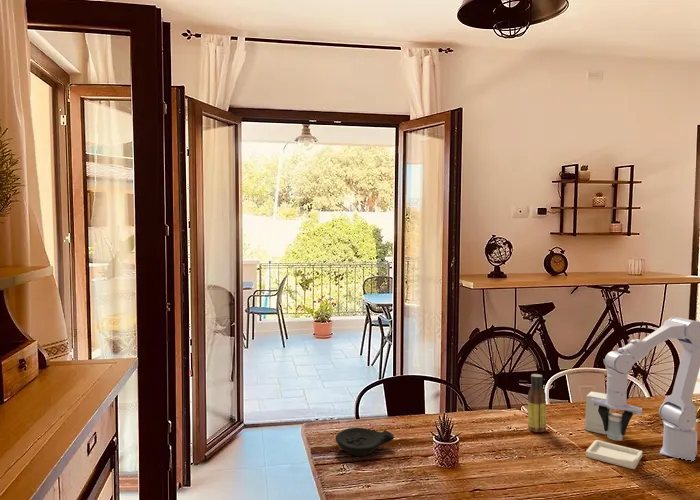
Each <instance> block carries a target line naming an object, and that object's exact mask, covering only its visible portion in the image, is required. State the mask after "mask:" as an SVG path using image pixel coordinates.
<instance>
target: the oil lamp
mask: <svg viewBox="0 0 700 500" xmlns="http://www.w3.org/2000/svg"><path fill="white" fill-rule="evenodd" d="M394 438H395V436H394V434H393V433H392V432H390V431H388V430H386V429H385V430H383V431H376V430H375V429H372V430H371V429H368V428H365V427H364V428H363V427H350V428H346V429H343V430H341V431H340V432H338V433H337V434H336V436H335V441H336V444H337V445H338V446H339V447H340V448H341V449H342V450H343V451H344V452H345V453H347V454H350V455H353V456H357V457H362V456H367V455H369V454H372V453H374V451H376V450H377V449H378V448H380V446H383V445H385V444H388V443H389V442H392V441H393V440H394Z"/></svg>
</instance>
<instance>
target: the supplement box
mask: <svg viewBox="0 0 700 500" xmlns="http://www.w3.org/2000/svg"><path fill="white" fill-rule="evenodd" d="M585 397H586V399H585V413H584V414H585V415H584V416H585V419H584V420H585V421H584V430H585V431H588V432H592V433H597V434H602V435H606V436H607V431H604V425H603V421H602V418H601V416H600V414H599V412H598V409H599V406H591V399H592V398H594V399H601V400H606V393H603V392H596V391H590V392H589V393H588V394H586V396H585ZM609 413H612V409H609Z"/></svg>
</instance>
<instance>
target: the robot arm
mask: <svg viewBox="0 0 700 500" xmlns="http://www.w3.org/2000/svg"><path fill="white" fill-rule="evenodd" d="M669 339H675V340H677V341H678V342H680V344H681V346H682V347H683V350H682V354H681V358H680V363H679V366H678V369H677V373H676V377H675V381H674V385H673V389H672V392H671V394H669V395H667V396H666V397H665V398H664V400H663V402H662V404H660V406H659V409H658V414H659V417H660V419H662V423H663V432H662V433H663V435H662V436H663V437H662V447H661V448H660V451H659V455H663V456H667V457H672V458H676V459H679V458H681V460H683V459H685V460H684V461H687V460H691V461H690V462H692V461H694V460H696V458H695V457H697V455H698V431H697V430H695V429H693V428H694V427H695V425H696V424H697V415H696V414H697V407H696V406H695V404H694V403H693V400H692V399H693V396H694V391H695V387H696V383H697V379H698V376H699V372H700V321H698V320H693V319H688V318H685V317H684V318H682V317H681V316H677V315H675V316H671V317H670V318H669V319H666V320H664V321H663V324H662V326H659V328H657V329H655V330H654V331H653V332H651V333H650V334H648V335H647V336H645V337H644V338H643V339H638V338H636V339H631V340H629V343H627V344H625V345H624V346H622V347H619V348H618V349H617V351H616V350H613V351H612V350H611V351H609V352H608V353H607V354H606V355H605V358H603V364H604V366H605V367H606V374H607V375H606V393H605V394H606V400H601V399H594V398H592V399H591V406H599V409H598V412H599V414H600V416H601V418H602V421H603V425H604V431H607V428H608V413H609V409H611V410H615V411H619V412H623V413H622V414H621V415H622V435H623V436H625V435H626V434H627V428H628V425H629V423H630V421H631V419H632V417H633V416H634V415H637V416H639V417H641V416H642V415H643V408H642V407H638V406H635V405H632V404H629V403H627V393H628V391H627V390H628V372H630V371H631V370H632V368H633V366H634V365H635V363H637V362H639V361H640V360H642V359H644V358H645V357H646V356H648V355H649V354H650V349H653V348H655V347H656V346H658V345H660V344H662V343H664V342H666V341H668V340H669ZM694 462H695V461H694Z"/></svg>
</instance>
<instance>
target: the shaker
mask: <svg viewBox="0 0 700 500" xmlns="http://www.w3.org/2000/svg"><path fill="white" fill-rule="evenodd" d="M606 436H607V438H608V439H610V440H613V441H623V440H624V439H623V438H624V437H623V436H624V435H622V414H620V413H616V412H611V413H608V428H607V434H606Z"/></svg>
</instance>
